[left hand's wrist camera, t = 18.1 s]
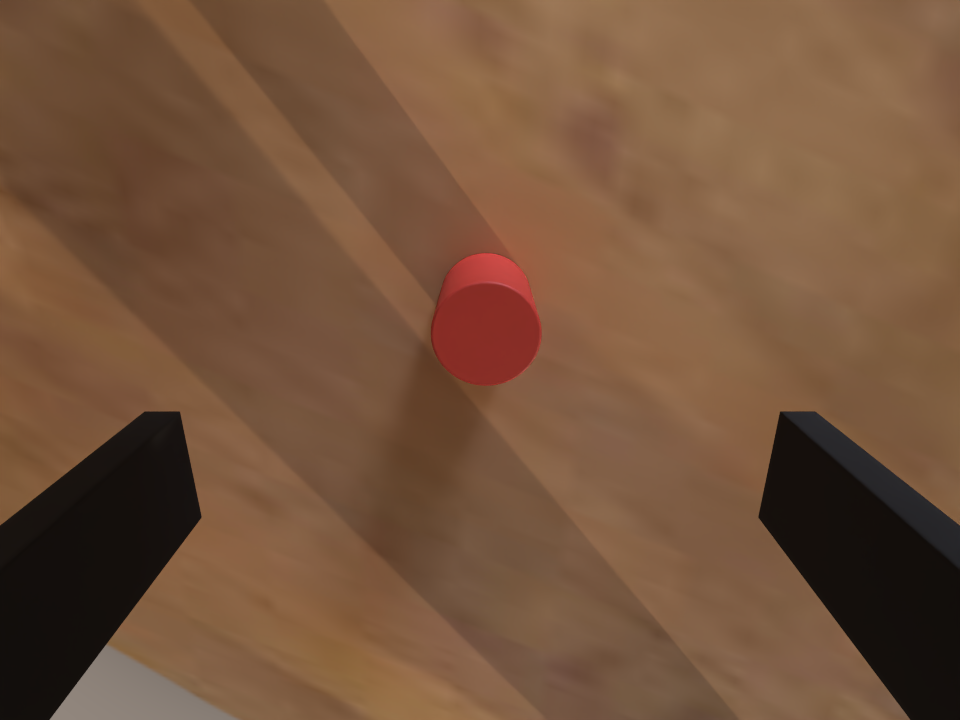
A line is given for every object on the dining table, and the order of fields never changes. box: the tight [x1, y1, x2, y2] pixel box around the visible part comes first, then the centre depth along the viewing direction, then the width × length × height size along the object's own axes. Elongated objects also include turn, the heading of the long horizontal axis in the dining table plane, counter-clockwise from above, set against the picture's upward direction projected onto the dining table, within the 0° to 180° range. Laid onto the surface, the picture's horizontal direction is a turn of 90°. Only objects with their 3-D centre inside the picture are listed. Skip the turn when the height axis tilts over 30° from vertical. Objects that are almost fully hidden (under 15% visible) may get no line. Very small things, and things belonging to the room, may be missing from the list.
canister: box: [431, 253, 541, 386], centre depth 22 cm, size 4×4×5 cm
